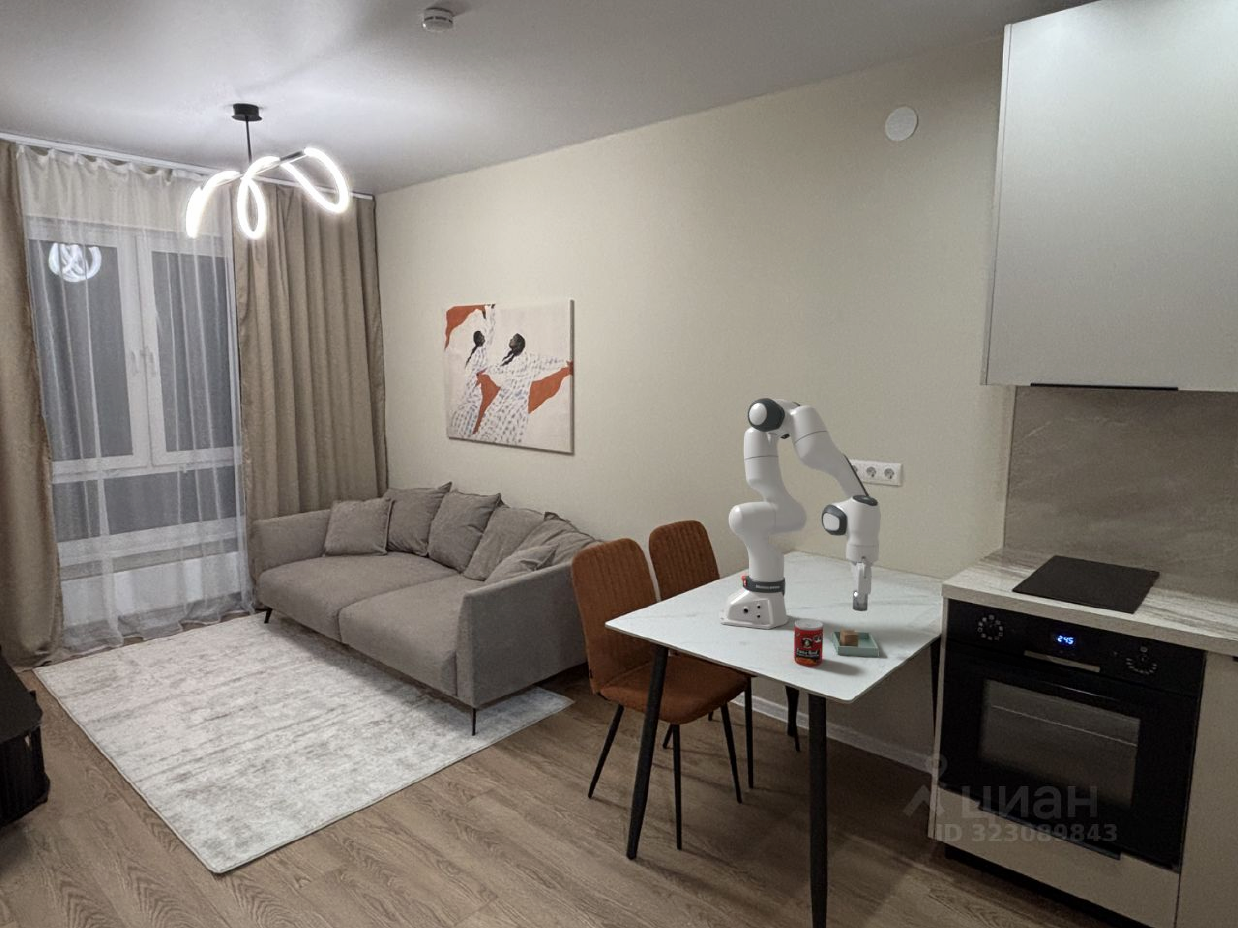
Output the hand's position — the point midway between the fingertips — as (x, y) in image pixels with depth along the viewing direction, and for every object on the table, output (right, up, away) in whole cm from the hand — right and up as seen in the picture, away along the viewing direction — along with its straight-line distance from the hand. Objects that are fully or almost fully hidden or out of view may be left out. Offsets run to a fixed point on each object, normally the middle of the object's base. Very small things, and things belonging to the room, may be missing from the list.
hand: (859, 599), depth 216 cm
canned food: (-16, -16, -6) cm, 24 cm away
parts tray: (0, -15, +4) cm, 15 cm away
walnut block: (-3, -15, +2) cm, 15 cm away
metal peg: (0, -3, 0) cm, 3 cm away
